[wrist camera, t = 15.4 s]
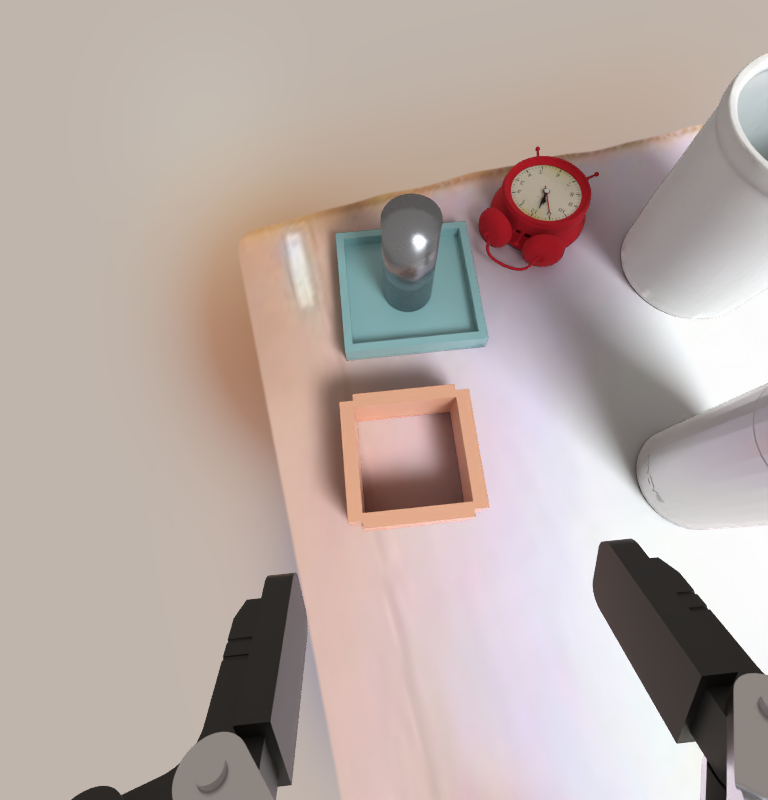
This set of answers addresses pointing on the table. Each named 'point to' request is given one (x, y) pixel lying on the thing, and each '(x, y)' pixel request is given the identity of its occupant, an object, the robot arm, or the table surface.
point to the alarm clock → (538, 210)
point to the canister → (409, 250)
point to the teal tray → (409, 331)
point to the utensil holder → (710, 213)
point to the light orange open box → (403, 406)
